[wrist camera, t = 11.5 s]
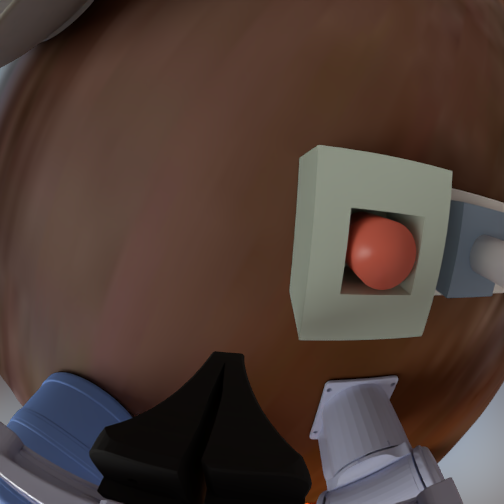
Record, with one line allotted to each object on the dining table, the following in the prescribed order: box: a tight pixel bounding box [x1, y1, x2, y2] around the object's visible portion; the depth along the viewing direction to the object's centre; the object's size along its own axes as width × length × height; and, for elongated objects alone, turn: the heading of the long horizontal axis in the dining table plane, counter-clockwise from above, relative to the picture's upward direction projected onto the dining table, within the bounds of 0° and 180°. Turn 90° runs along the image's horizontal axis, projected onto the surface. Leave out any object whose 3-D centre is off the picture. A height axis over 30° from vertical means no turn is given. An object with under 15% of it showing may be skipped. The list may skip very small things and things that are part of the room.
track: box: [289, 145, 504, 340], centre depth 16 cm, size 10×30×7 cm, turn 87°
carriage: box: [435, 200, 504, 298], centre depth 14 cm, size 7×6×6 cm
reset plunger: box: [345, 212, 416, 290], centre depth 14 cm, size 4×4×4 cm
